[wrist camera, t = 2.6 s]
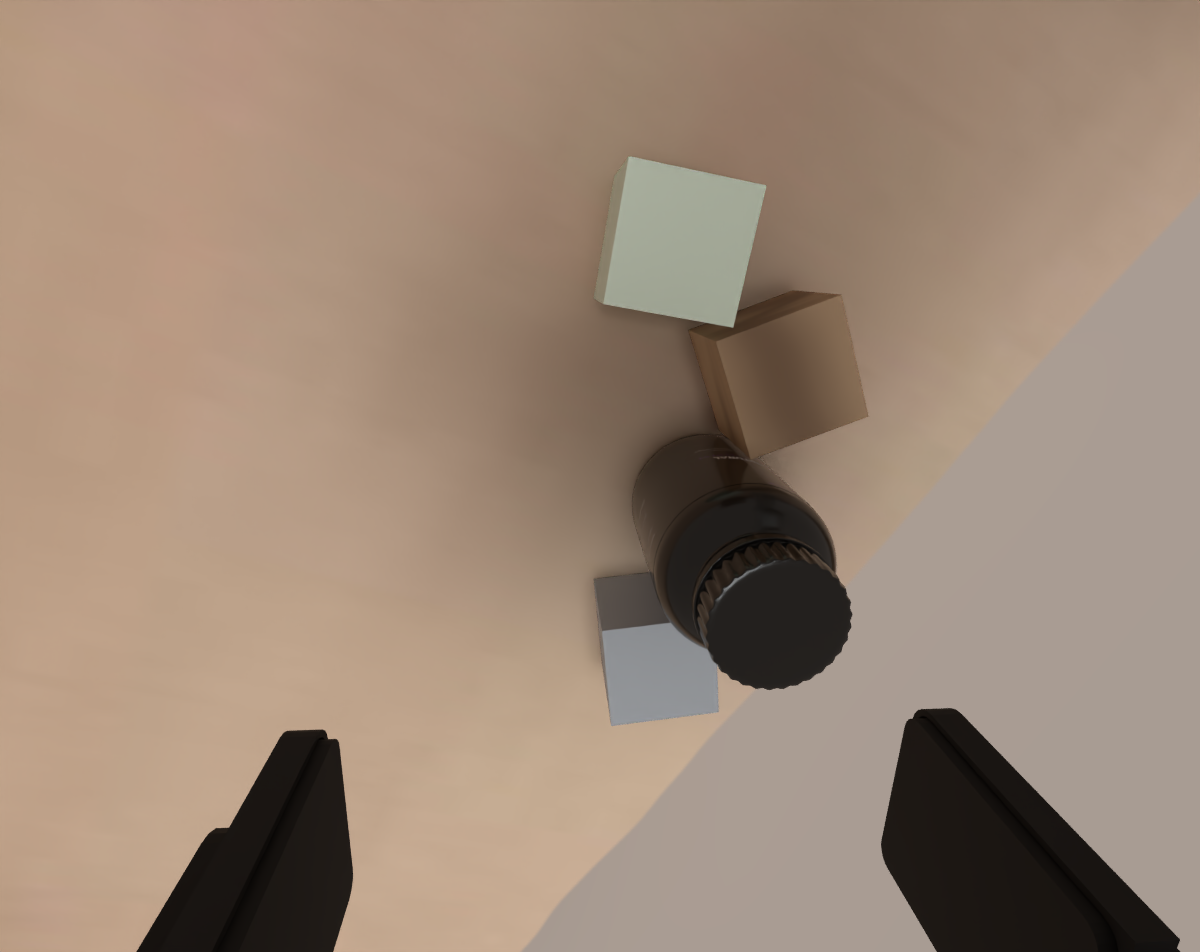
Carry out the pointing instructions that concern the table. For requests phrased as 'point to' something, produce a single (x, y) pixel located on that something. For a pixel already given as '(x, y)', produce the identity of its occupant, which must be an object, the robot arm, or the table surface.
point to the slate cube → (649, 656)
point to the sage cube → (677, 241)
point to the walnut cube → (781, 371)
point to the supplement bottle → (740, 562)
